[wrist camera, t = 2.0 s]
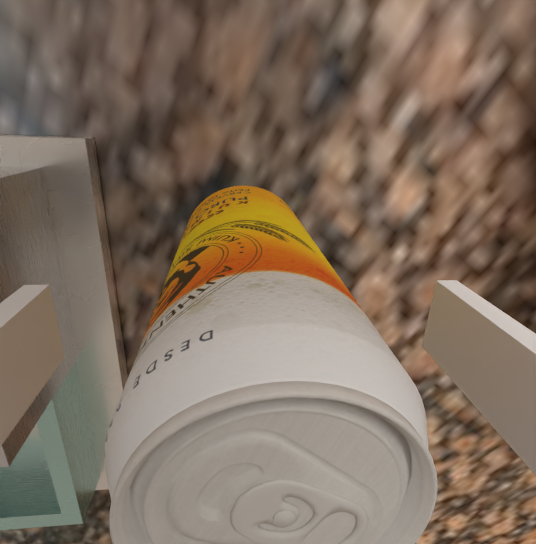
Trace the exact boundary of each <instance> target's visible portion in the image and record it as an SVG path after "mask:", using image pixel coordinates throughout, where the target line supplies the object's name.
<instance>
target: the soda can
mask: <svg viewBox="0 0 536 544" xmlns="http://www.w3.org/2000/svg"><path fill="white" fill-rule="evenodd" d="M104 463H105V471H106V477H107V482H108V487H109V492H110V497H111V506H110V515H109V528H110V536H111V540H112V543H113V544H415V543H416V542H417V540H418V539H419V537H420V536H421V535H422V533H423V532H424V530H425V528H426V526H427V524H428V523H429V521H430V518H431V516H432V513H433V510H434V507H435V503H436V498H437V486H438V483H437V474H436V469H435V466H434V462H433V459H432V456H431V454H430V452H429V451H428V436H427V422H426V414H425V409H424V405H423V402H422V398H421V396H420V394H419V392H418V390H417V388H416V386H415V384H414V383H413V381H412V380H411V378H410V377H409V375H408V374H407V372H406V371H405V370H404V368H403V367H402V365H401V364H400V362H399V361H398V360H397V358H396V357H395V355H394V354H393V353H392V351H391V350H390V348H389V347H388V346H387V344H386V343H385V341H384V340H383V338H382V337H381V336H380V334H379V333H378V331H377V330H376V329H375V327H374V326H373V324H372V323H371V321H370V320H369V319H368V317H367V316H366V314H365V313H364V312H363V310H362V309H361V307H360V306H359V305H358V303H357V302H356V300H355V299H354V297H353V296H352V295H351V293H350V292H349V290H348V289H347V288H346V286H345V285H344V283H343V282H342V281H341V279H340V278H339V276H338V275H337V273H336V272H335V271H334V269H333V268H332V266H331V265H330V264H329V262H328V261H327V259H326V258H325V257H324V255H323V254H322V252H321V251H320V249H319V248H318V247H317V245H316V244H315V242H314V241H313V240H312V238H311V237H310V235H309V234H308V233H307V231H306V230H305V228H304V227H303V225H302V224H301V223H300V221H299V220H298V218H297V217H296V216H295V214H294V213H293V211H292V210H291V209H290V207H289V206H288V205H287V204H286V203H285V202H284V201H283V200H282V199H281V198H279V197H278V196H276V195H275V194H273V193H271V192H269V191H267V190H265V189H262V188H258V187H253V186H233V187H229V188H225V189H222V190H219V191H217V192H215V193H213V194H212V195H210V196H209V197H207V198H206V199H205V200H204V201H202V202H201V203H200V204H199V205H198V207H197V208H196V209H195V211H194V212H193V213H192V215H191V217H190V219H189V221H188V224H187V227H186V229H185V232H184V234H183V237H182V239H181V242H180V245H179V247H178V250H177V252H176V255H175V258H174V260H173V263H172V265H171V268H170V271H169V273H168V276H167V278H166V281H165V284H164V286H163V289H162V291H161V294H160V297H159V299H158V302H157V304H156V307H155V309H154V312H153V315H152V317H151V320H150V322H149V325H148V328H147V330H146V333H145V335H144V338H143V341H142V343H141V346H140V348H139V351H138V354H137V356H136V359H135V361H134V364H133V367H132V369H131V372H130V374H129V377H128V380H127V382H126V385H125V387H124V390H123V392H122V395H121V398H120V400H119V403H118V405H117V408H116V411H115V413H114V416H113V418H112V421H111V424H110V426H109V429H108V432H107V437H106V442H105V451H104Z"/></svg>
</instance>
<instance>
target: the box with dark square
mask: <svg viewBox="0 0 536 544" xmlns="http://www.w3.org/2000/svg"><path fill="white" fill-rule="evenodd" d="M23 285H50V290H51V294H52V299H53V304H54V309H55V313H56V318H57V323H58V328H59V333H60V337H61V342H62V347H63V352H64V356H65V357H64V358H63V360H62V361H61V363H60V364H59V366H58V367H57V368H56V370H55V371H54V373H53V374H52V375H51V377H50V378H49V380H48V381H47V382H46V384H45V385H44V387H43V388H42V389H41V391H40V392H39V394H38V395H37V396H36V398H35V399H34V401H33V402H32V403H31V405H30V406H29V408H28V409H27V411H26V412H25V413H24V415H23V416H22V418H21V419H20V420H19V422H18V423H17V425H16V426H15V427H14V429H13V430H12V432H11V433H10V434H9V436H8V437H7V439H6V440H5V441H4V443H3V444H2V446H1V447H0V530H10V529H23V528H36V527H48V526H61V525H74V524H83V523H84V520H85V517H86V514H87V511H88V509H89V506H90V503H91V500H92V497H93V495H94V492H95V490H107V489H109V487H108V482H107V477H106V471H105V463H104V451H105V442H106V437H107V432H108V429H109V426H110V424H111V421H112V418H113V416H114V413H115V411H116V408H117V405H118V403H119V400H120V398H121V395H122V392H123V390H124V387H125V385H126V382H127V380H128V372H127V365H126V358H125V351H124V344H123V337H122V330H121V323H120V316H119V309H118V302H117V295H116V288H115V281H114V274H113V267H112V259H111V252H110V245H109V238H108V231H107V224H106V217H105V210H104V203H103V196H102V189H101V182H100V175H99V168H98V161H97V154H96V147H95V140H94V137H61V136H29V135H0V303H1V302H2V301H4V300H5V299H6V298H8V297H9V296H10V295H12V294H13V293H14V292H15V291H17V290H18V289H19V288H21V287H22V286H23Z"/></svg>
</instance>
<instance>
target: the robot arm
mask: <svg viewBox="0 0 536 544" xmlns="http://www.w3.org/2000/svg"><path fill="white" fill-rule="evenodd" d="M422 347H423V348H424V349H425V350H426V351H427V352H428V354H429V355H430V356H431V357H432V358H433V359H434V360H435V362H436V363H437V364H438V365H439V366H440V367H441V368H442V370H443V371H444V372H445V373H446V374H447V375H448V376H449V377H450V379H451V380H452V381H453V382H454V383H455V384H456V385H457V387H458V388H459V389H460V390H461V391H462V392H463V393H464V395H465V396H466V397H467V398H468V399H469V400H470V401H471V402H472V404H473V405H474V406H475V407H476V408H477V409H478V410H479V412H480V413H481V414H482V415H483V416H484V417H485V418H486V419H487V421H488V422H489V423H490V424H491V425H492V426H493V427H494V429H495V430H496V431H497V432H498V433H499V434H500V435H501V437H502V438H503V439H504V440H505V441H506V442H507V443H508V444H509V446H510V447H511V448H512V449H513V450H514V451H515V452H516V454H517V455H518V456H519V457H520V458H521V459H522V460H523V462H524V463H525V464H526V465H527V466H528V467H529V468H530V469H531V471H532V472H533V473H534V474H535V475H536V334H535V333H534V332H532V331H531V330H529V329H528V328H526V327H525V326H523V325H522V324H520V323H519V322H517V321H516V320H514V319H513V318H512V317H510V316H509V315H507V314H506V313H504V312H503V311H501V310H500V309H498V308H497V307H495V306H494V305H492V304H491V303H489V302H488V301H486V300H485V299H483V298H482V297H480V296H479V295H477V294H476V293H474V292H473V291H472V290H470V289H469V288H467V287H466V286H464V285H463V284H461V283H460V282H458V281H457V280H442V281H436V285H435V289H434V294H433V298H432V303H431V307H430V312H429V316H428V321H427V325H426V330H425V334H424V339H423V343H422ZM64 357H65V356H64V352H63V347H62V342H61V337H60V333H59V328H58V323H57V318H56V313H55V309H54V304H53V299H52V294H51V290H50V285H23V286H22V287H21V288H19V289H18V290H17V291H15V292H14V293H13V294H12V295H10V296H9V297H8V298H6V299H5V300H4V301H2V302H1V303H0V447H1V446H2V444H3V443H4V441H5V440H6V439H7V437H8V436H9V434H10V433H11V432H12V430H13V429H14V427H15V426H16V425H17V423H18V422H19V420H20V419H21V418H22V416H23V415H24V413H25V412H26V411H27V409H28V408H29V406H30V405H31V403H32V402H33V401H34V399H35V398H36V396H37V395H38V394H39V392H40V391H41V389H42V388H43V387H44V385H45V384H46V382H47V381H48V380H49V378H50V377H51V375H52V374H53V373H54V371H55V370H56V368H57V367H58V366H59V364H60V363H61V361H62V360H63V358H64Z"/></svg>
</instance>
